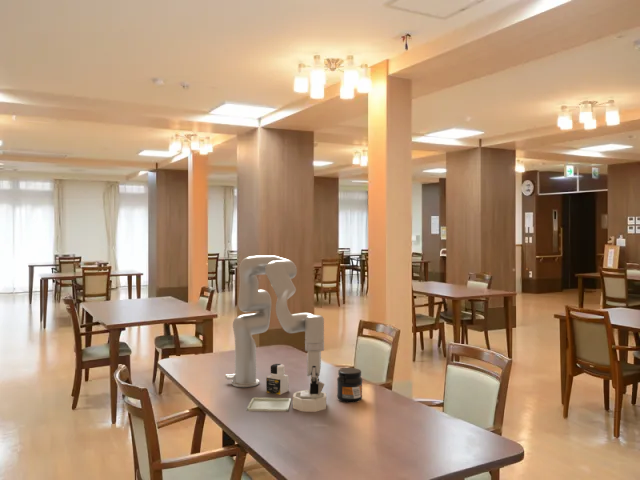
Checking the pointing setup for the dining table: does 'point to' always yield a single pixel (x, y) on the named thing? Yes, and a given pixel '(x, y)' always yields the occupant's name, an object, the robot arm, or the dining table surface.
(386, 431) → the dining table surface
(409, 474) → the dining table surface
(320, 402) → the bowl
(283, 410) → the tray
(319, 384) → the beige small block
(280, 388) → the medicine bottle
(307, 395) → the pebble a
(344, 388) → the supplement container
